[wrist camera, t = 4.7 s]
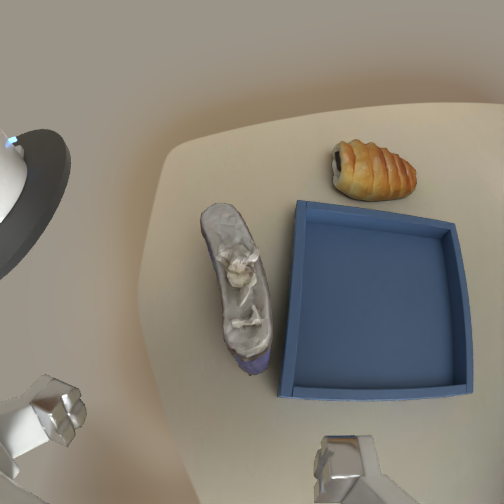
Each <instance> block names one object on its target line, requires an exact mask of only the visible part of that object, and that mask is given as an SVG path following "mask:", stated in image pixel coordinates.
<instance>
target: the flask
mask: <svg viewBox="0 0 504 504" xmlns="http://www.w3.org/2000/svg"><path fill="white" fill-rule="evenodd" d="M200 223H201V232H202V235H203V237H204V239H205V240H206V244H207V247H208V251H209V254H210V257H211V260H212V263H213V267H214V270H215V273H216V276H217V282H218V284H219V290H220V292H221V298H222V308H223V336H224V341H225V343H226V345H227V347H228V349H229V351H230V352H231V354H232V355H233V357H234V358H235V359H236V361H237V362H238V365H239V367H240V368H241V369H242V370H243V371H244V372H246V373H248V374H249V376H251V375H252V374H253V375H257V374H259V373H262V372H263V371H264V370H266V369H267V368H268V365H269V362H270V349H271V342H272V340H273V322H272V311H271V303H270V293H269V288H268V282H267V279H266V275H265V271H264V268H263V265H262V262H261V259H260V256H259V248H258V247H257V246H256V245H255V243H254V240H253V238H252V236H251V234H250V232H249V229H248V227H247V225H246V223H245V221H244V220H243V218H242V216H241V214H240V213H239V212H238V211H237V210H236V208H235V207H234V206H233V205H230V204H225V203H215V204H213V205H211V206H210V207H208V208H207V209H206V210H205V211H204V212H203V213H201V220H200Z"/></svg>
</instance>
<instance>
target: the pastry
mask: <svg viewBox="0 0 504 504" xmlns="http://www.w3.org/2000/svg"><path fill="white" fill-rule="evenodd" d="M333 156H334V160H333V161H332V168H333V172H334V174H335V175H334V177H333V184H334V186H335V187H336V188H337V189H338V190H340V191H342V192H343V193H344V194H346V195H347V196H349V197H351V198H353V199H356V200H357V199H361V200H366V201H385V200H395V199H400V198H404V197H406V196H408V195H410V194H411V193H412V192H413V191H414V190H415V187H416V184H417V179H416V170H415V169H414V168H413V167H412V166H411V165H410V164H409V163H408V162H407V161H406V160H404V159H402V158H400V157H399V155H398V154H393V153H390V152H389V151H388V149H387V148H379V147H378V146H376V145H375V144H374V143H373V142H370V143H367V144H364V143H362V142H361V141H359V140H357V139H355V140H352V141H351V142H349V143H346V142H344V141H341V142H340V143H339V144H337V145H336V146H335V147H334V150H333Z"/></svg>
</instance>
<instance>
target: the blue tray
mask: <svg viewBox="0 0 504 504" xmlns="http://www.w3.org/2000/svg"><path fill="white" fill-rule="evenodd" d="M469 393H473V342H472V327H471V316H470V306H469V298H468V290H467V283H466V277H465V270H464V265H463V259H462V254H461V249H460V244H459V239H458V235H457V231H456V226H455V224H454V223H449V222H445V221H439V220H434V219H428V218H422V217H416V216H410V215H404V214H398V213H392V212H385V211H378V210H372V209H365V208H358V207H350V206H343V205H335V204H327V203H319V202H310V201H307V202H306V201H301V200H297V204H296V210H295V216H294V228H293V242H292V255H291V268H290V279H289V291H288V302H287V312H286V322H285V332H284V342H283V351H282V360H281V369H280V377H279V386H278V394H277V397H281V398H293V399H308V400H327V401H396V400H415V399H428V398H440V397H449V396H457V395H463V394H469Z"/></svg>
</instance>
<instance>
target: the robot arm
mask: <svg viewBox="0 0 504 504" xmlns="http://www.w3.org/2000/svg"><path fill="white" fill-rule="evenodd" d="M16 141H17V139H16V137H13V138H10V139H8V138H7V137H6V135H5V134H4V133H3V131H2V130H1V129H0V223H1V222H2V221H3V219H4V218H5V217H6V216H7V214H8V213H9V212H10V210H11V209H12V207H13V206H14V204H15V203H16V201H17V199H18V197H19V196H20V194H21V191H22V189H23V187H24V184H25V181H26V177H27V165H26V163H25V161H24V159H23V157H24V149H23V148H22V146H21V145H18V146H16V147H15V146H14V145H13V144H12V143H13V142H16ZM80 397H81V393H80V390H79V389H78V388H76V387H74V386H71V385H69V384H67V383H64V382H62V381H60V380H58V379H56V378H53V377H51V376H49V375H46V374H45V375H41V376H40V377H39V378H38V379H37V380H36V381H35V382H34V383H33V384H32V385H31V386H30V388H29V389H28V390H27V391H26V392H25V393H24V394H23V395H22V396H21V397H20V398H18V397H15V398H11V399H8V400H5V401H2V402H0V504H49V503H47V502H45V501H43V500H42V499H40V498H39V497H37V496H35V495H33V494H32V493H31V492H29V491H27V490H26V489H25V488H23V487H22V486H20V485H19V484H17V483H16V482H14V481H13V480H14V478H15V477H16V475H17V474H18V472H19V471H20V469H19V466H18V465H17V464H16V462H15V461H14V460H13V458H15V457H17V456H19V455H21V454H23V453H25V452H27V451H29V450H31V449H33V448H35V447H37V446H39V445H41V444H43V443H45V442H46V441H49V439H51V440H53V441H55V442H57V443H59V444H61V445H63V446H66V447H68V446H69V444H70V442H71V441H72V440H73V438H74V437H75V430H76V429H78V428H80V427H82V425H83V424H84V422H85V419H86V415H87V414H86V407H85V404H84V403H83V402H82V401H81V399H80ZM314 477H315V478H316V479H317V482H316V484H315V486H314V503H341V504H419V503H418V502H417V501H415V500H414V499H413V498H412V497H411V496H410V495H408V494H407V493H406V492H405V491H404V490H403V489H402V488H400V487H399V486H398V485H397V484H396V483H395V482H394V481H393V480H391V479H390V478H389V477H388V476H387V475H382V474H381V470H380V465H379V461H378V456H377V452H376V448H375V443H374V439H373V437H372V436H371V435H362V436H355V435H350V436H324V437H323V439H322V441H321V449H319V450H318V451H317V453H316V456H315V461H314Z"/></svg>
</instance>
